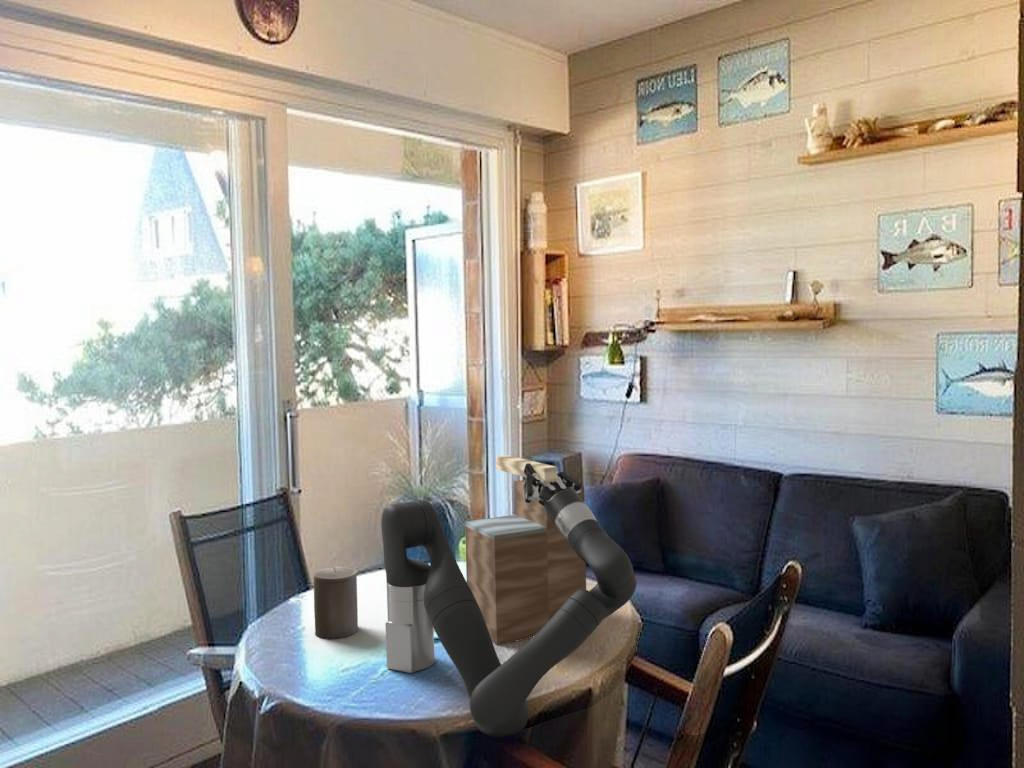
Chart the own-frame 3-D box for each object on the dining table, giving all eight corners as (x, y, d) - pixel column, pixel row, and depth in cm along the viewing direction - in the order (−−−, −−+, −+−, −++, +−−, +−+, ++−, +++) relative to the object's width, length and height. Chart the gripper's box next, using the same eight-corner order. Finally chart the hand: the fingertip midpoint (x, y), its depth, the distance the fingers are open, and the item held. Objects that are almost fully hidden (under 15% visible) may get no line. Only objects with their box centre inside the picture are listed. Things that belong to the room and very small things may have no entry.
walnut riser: (586, 625, 185) (584, 486, 183) (496, 645, 174) (493, 498, 172) (553, 606, 198) (550, 476, 196) (467, 623, 187) (464, 487, 185)
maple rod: (557, 481, 169) (556, 466, 169) (544, 482, 168) (544, 468, 167) (507, 467, 188) (507, 455, 188) (496, 469, 187) (495, 456, 187)
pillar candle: (315, 641, 179) (313, 574, 178) (314, 626, 188) (312, 562, 187) (360, 636, 181) (358, 571, 181) (356, 621, 191) (355, 559, 190)
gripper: (537, 537, 160) (501, 482, 173) (596, 527, 167) (557, 475, 180) (546, 507, 157) (508, 454, 169) (606, 498, 163) (565, 448, 176)
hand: (534, 465), depth 174 cm, fingers closed on maple rod, 3 cm apart
